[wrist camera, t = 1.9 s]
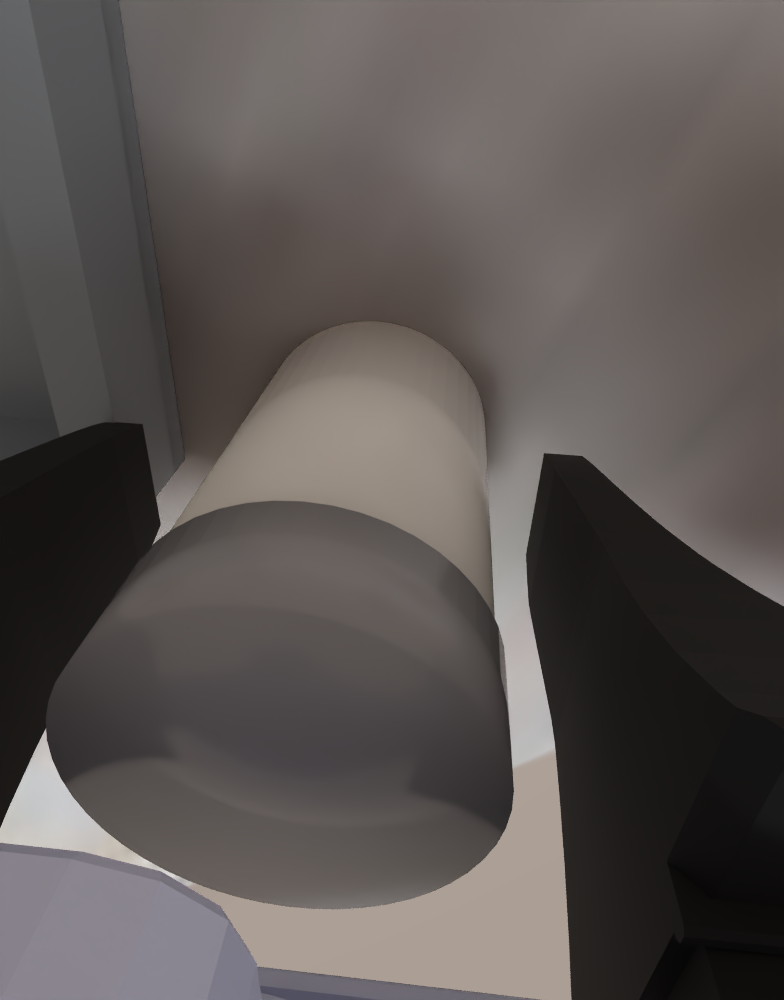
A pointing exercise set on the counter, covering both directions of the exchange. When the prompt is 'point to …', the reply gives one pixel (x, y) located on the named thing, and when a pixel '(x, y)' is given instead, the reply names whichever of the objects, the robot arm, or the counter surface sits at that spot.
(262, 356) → the counter surface
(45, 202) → the tray
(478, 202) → the counter surface
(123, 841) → the shaker
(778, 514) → the counter surface
